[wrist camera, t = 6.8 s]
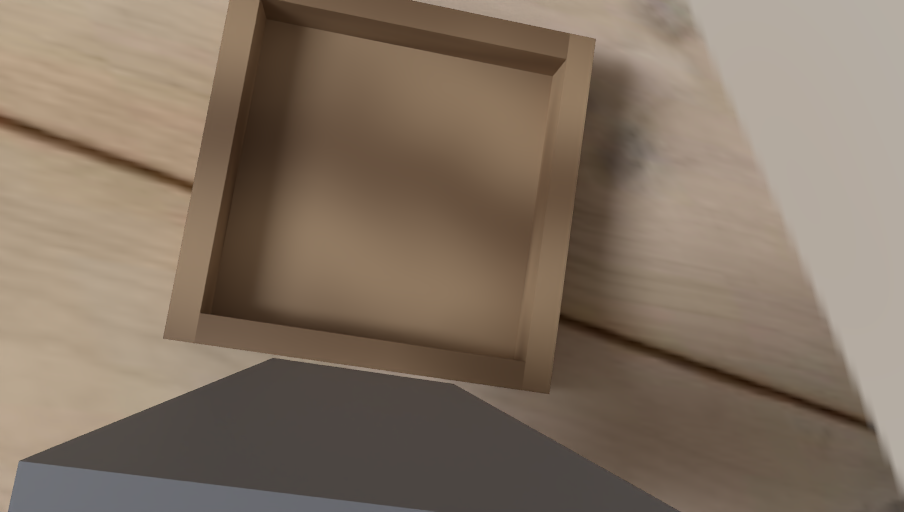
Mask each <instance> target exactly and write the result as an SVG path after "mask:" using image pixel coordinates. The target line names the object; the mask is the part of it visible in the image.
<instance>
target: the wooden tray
mask: <svg viewBox="0 0 904 512" xmlns="http://www.w3.org/2000/svg"><path fill="white" fill-rule="evenodd" d="M595 41H596V39H594V38H589V37H584V36H579V35H574V34H570V33H565V32H560V31H555V30H551V29H546V28H541V27H536V26H531V25H527V24H522V23H517V22H512V21H508V20H503V19H498V18H493V17H488V16H484V15H479V14H474V13H469V12H464V11H460V10H455V9H450V8H445V7H441V6H436V5H431V4H426V3H421V2H417V1H412V0H230V1H229V6H228V11H227V16H226V21H225V26H224V31H223V36H222V41H221V46H220V51H219V56H218V62H217V67H216V72H215V77H214V82H213V87H212V92H211V97H210V102H209V107H208V112H207V117H206V123H205V128H204V133H203V138H202V143H201V148H200V153H199V158H198V163H197V168H196V173H195V179H194V184H193V189H192V194H191V199H190V204H189V209H188V214H187V219H186V224H185V229H184V234H183V240H182V245H181V250H180V255H179V260H178V265H177V270H176V275H175V280H174V285H173V290H172V295H171V301H170V306H169V311H168V316H167V321H166V326H165V331H164V336H163V339H170V340H177V341H184V342H191V343H198V344H205V345H212V346H219V347H226V348H233V349H240V350H247V351H254V352H261V353H267V354H274V355H281V356H288V357H295V358H302V359H309V360H316V361H323V362H330V363H337V364H344V365H351V366H358V367H365V368H372V369H379V370H386V371H393V372H400V373H407V374H413V375H420V376H427V377H434V378H441V379H448V380H455V381H462V382H469V383H476V384H483V385H490V386H497V387H504V388H511V389H518V390H525V391H532V392H539V393H546V394H549V392H550V384H551V377H552V369H553V362H554V354H555V346H556V339H557V331H558V323H559V316H560V308H561V300H562V293H563V285H564V278H565V270H566V262H567V255H568V247H569V239H570V232H571V224H572V217H573V209H574V201H575V194H576V186H577V178H578V171H579V163H580V156H581V148H582V140H583V133H584V125H585V117H586V110H587V102H588V95H589V87H590V79H591V72H592V64H593V56H594V49H595Z"/></svg>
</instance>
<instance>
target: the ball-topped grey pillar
mask: <svg viewBox="0 0 904 512" xmlns="http://www.w3.org/2000/svg"><path fill="white" fill-rule="evenodd" d="M8 512H680V511H678V510H676V509H675V508H673V507H671V506H669V505H668V504H666V503H664V502H662V501H660V500H659V499H657V498H655V497H653V496H652V495H650V494H648V493H646V492H644V491H643V490H641V489H639V488H637V487H636V486H634V485H632V484H630V483H628V482H627V481H625V480H623V479H621V478H620V477H618V476H616V475H614V474H612V473H611V472H609V471H607V470H605V469H604V468H602V467H600V466H598V465H596V464H595V463H593V462H591V461H589V460H588V459H586V458H584V457H582V456H581V455H579V454H577V453H575V452H573V451H572V450H570V449H568V448H566V447H565V446H563V445H561V444H559V443H557V442H556V441H554V440H552V439H550V438H549V437H547V436H545V435H543V434H541V433H540V432H538V431H536V430H534V429H533V428H531V427H529V426H527V425H525V424H524V423H522V422H520V421H518V420H517V419H515V418H513V417H511V416H509V415H508V414H506V413H504V412H502V411H501V410H499V409H497V408H495V407H493V406H492V405H490V404H488V403H486V402H485V401H483V400H481V399H479V398H477V397H476V396H474V395H472V394H470V393H469V392H467V391H465V390H463V389H461V388H460V387H458V386H456V385H454V384H450V383H443V382H436V381H429V380H422V379H415V378H408V377H401V376H394V375H387V374H380V373H373V372H366V371H360V370H353V369H346V368H339V367H332V366H325V365H318V364H311V363H304V362H297V361H290V360H283V359H276V358H272V359H270V360H267V361H265V362H262V363H260V364H257V365H255V366H252V367H250V368H247V369H245V370H242V371H240V372H237V373H235V374H232V375H230V376H228V377H225V378H223V379H220V380H218V381H215V382H213V383H210V384H208V385H205V386H203V387H200V388H198V389H195V390H193V391H191V392H188V393H186V394H183V395H181V396H178V397H176V398H173V399H171V400H168V401H166V402H163V403H161V404H158V405H156V406H154V407H151V408H149V409H146V410H144V411H141V412H139V413H136V414H134V415H131V416H129V417H126V418H124V419H121V420H119V421H117V422H114V423H112V424H109V425H107V426H104V427H102V428H99V429H97V430H94V431H92V432H89V433H87V434H84V435H82V436H79V437H77V438H75V439H72V440H70V441H67V442H65V443H62V444H60V445H57V446H55V447H52V448H50V449H47V450H45V451H42V452H40V453H38V454H35V455H33V456H30V457H28V458H25V459H23V460H20V461H19V463H18V468H17V473H16V477H15V482H14V486H13V491H12V496H11V500H10V505H9V510H8Z"/></svg>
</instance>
